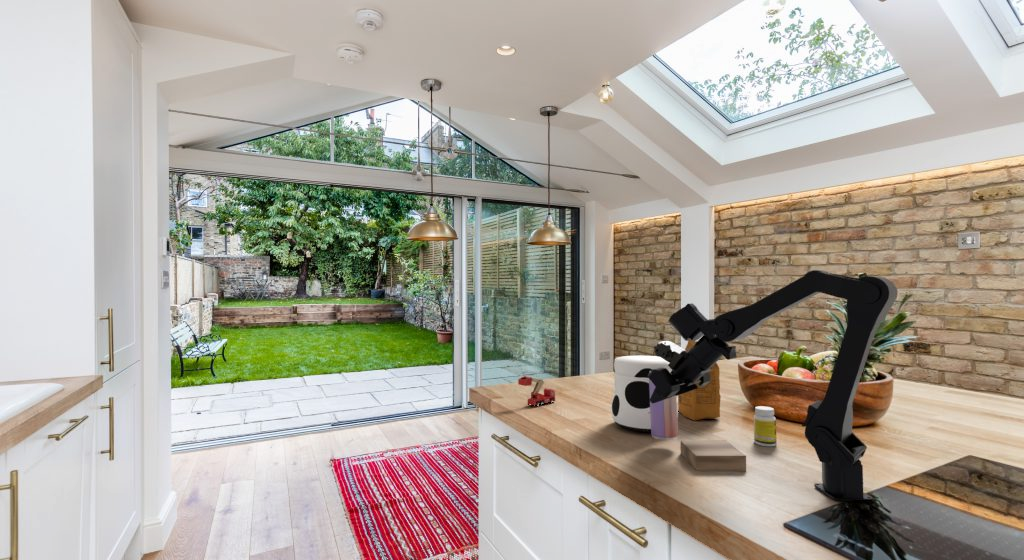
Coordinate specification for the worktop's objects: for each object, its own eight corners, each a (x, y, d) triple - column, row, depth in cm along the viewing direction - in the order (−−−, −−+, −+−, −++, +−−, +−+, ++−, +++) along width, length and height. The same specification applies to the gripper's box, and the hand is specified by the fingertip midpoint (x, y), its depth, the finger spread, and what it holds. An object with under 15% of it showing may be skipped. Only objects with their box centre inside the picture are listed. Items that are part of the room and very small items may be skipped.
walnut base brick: (746, 470, 97) (746, 455, 97) (696, 470, 98) (696, 455, 98) (726, 453, 107) (725, 440, 107) (680, 453, 108) (680, 440, 108)
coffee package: (705, 410, 146) (704, 337, 146) (725, 421, 133) (723, 341, 134) (673, 410, 145) (672, 337, 146) (689, 422, 133) (688, 342, 133)
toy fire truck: (556, 402, 157) (556, 373, 157) (525, 410, 148) (524, 378, 148) (549, 401, 159) (549, 371, 160) (518, 408, 151) (517, 377, 151)
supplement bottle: (779, 447, 111) (778, 411, 111) (757, 446, 112) (756, 410, 112) (772, 441, 116) (772, 405, 116) (751, 440, 117) (750, 405, 117)
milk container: (623, 415, 141) (622, 353, 141) (684, 423, 132) (683, 357, 132) (602, 430, 126) (601, 361, 126) (670, 440, 117) (669, 366, 117)
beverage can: (651, 439, 109) (648, 372, 111) (651, 434, 115) (648, 371, 117) (679, 440, 108) (675, 372, 109) (677, 436, 113) (674, 371, 115)
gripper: (696, 327, 116) (656, 368, 124) (654, 332, 104) (613, 378, 112) (730, 363, 110) (686, 403, 118) (690, 373, 98) (644, 418, 106)
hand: (657, 399), depth 113 cm, fingers closed on beverage can, 5 cm apart
